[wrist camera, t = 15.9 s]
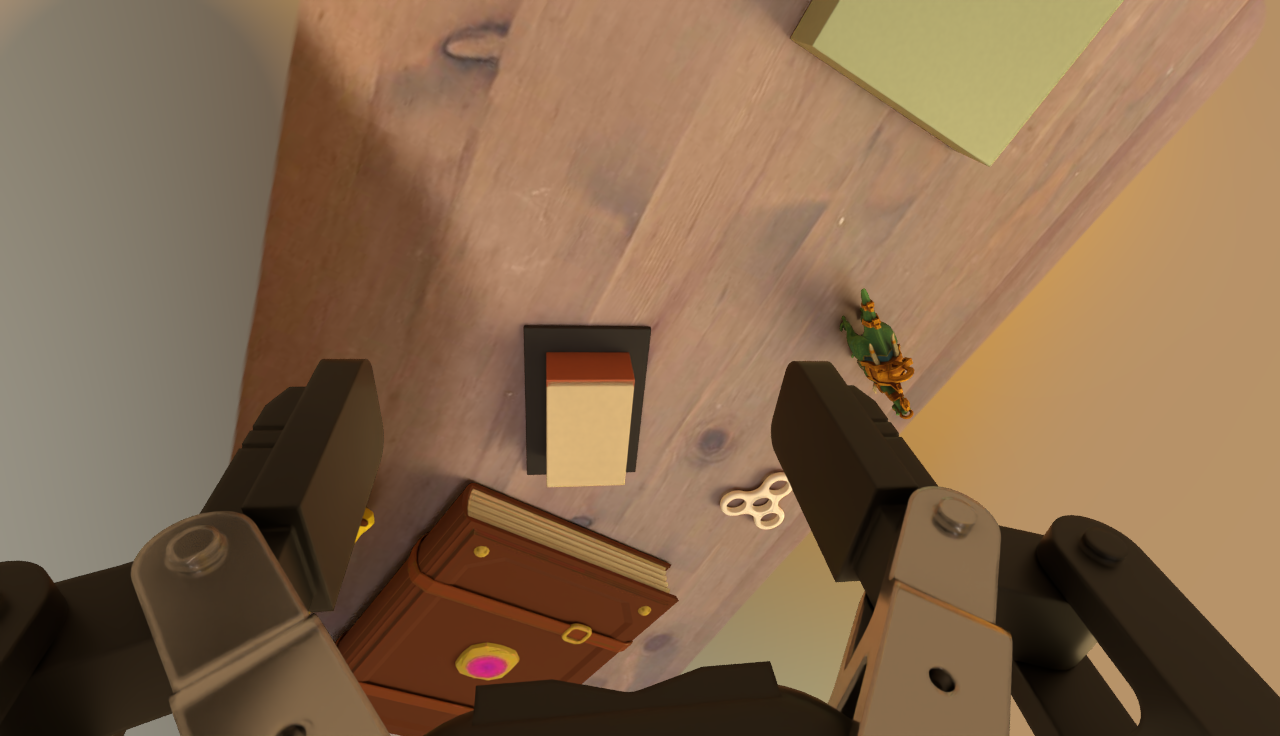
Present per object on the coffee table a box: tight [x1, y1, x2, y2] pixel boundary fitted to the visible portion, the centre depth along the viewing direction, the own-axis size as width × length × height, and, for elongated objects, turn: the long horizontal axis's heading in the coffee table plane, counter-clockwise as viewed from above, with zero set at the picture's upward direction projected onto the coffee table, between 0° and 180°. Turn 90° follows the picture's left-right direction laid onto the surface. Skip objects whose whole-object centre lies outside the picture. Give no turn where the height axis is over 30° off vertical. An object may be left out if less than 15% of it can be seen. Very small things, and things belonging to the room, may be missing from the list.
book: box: [335, 483, 679, 736], centre depth 58 cm, size 23×32×5 cm
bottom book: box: [790, 0, 1124, 167], centre depth 33 cm, size 14×10×4 cm
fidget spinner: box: [720, 472, 792, 529], centre depth 55 cm, size 7×6×1 cm
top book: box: [546, 352, 635, 487], centre depth 45 cm, size 10×6×4 cm, turn 175°
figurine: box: [840, 288, 914, 419], centre depth 42 cm, size 3×12×8 cm, turn 26°
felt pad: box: [524, 326, 651, 475], centre depth 47 cm, size 14×9×1 cm, turn 175°
